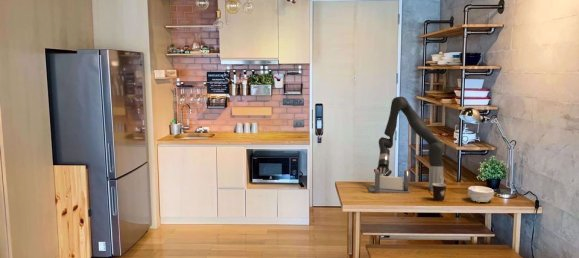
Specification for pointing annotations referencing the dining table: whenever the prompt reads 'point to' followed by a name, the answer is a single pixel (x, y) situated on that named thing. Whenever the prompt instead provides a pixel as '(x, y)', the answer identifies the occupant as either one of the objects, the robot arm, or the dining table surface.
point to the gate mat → (386, 190)
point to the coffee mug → (438, 191)
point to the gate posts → (377, 181)
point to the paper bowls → (480, 193)
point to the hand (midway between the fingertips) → (381, 181)
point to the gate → (391, 182)
